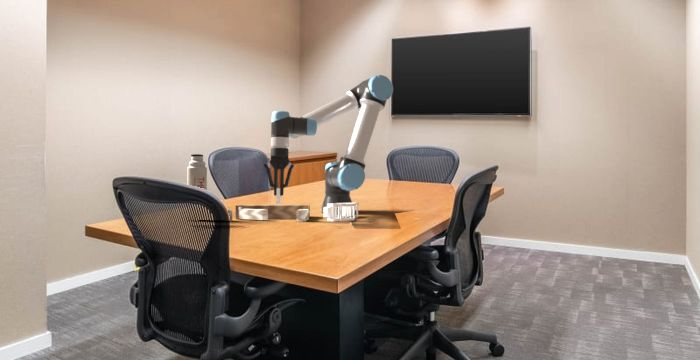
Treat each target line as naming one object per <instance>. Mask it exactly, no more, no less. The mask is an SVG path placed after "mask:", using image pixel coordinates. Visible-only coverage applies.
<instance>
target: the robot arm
mask: <svg viewBox="0 0 700 360" xmlns="http://www.w3.org/2000/svg"><path fill="white" fill-rule="evenodd" d="M393 93H394V86H393V83H392V81H391V80H390V79H389V78H388V76H385V75H383V74H377V75H373V76H371V77H370V78H368V79H365V80H362V81H361V82H360V83H359V84H358V85H356V86H354V87H353V88H351V89H350V90H347V91H346V93H345V94H344V95H343V96H339V97H338V98H336V99H334V100H332V101H330V102H328V103H326V104H324V105H322V106H320V107H318V108H316V109H314V110H311V111H310V112H308V113H306V114H304V115H302V116H300V117H297V116H295V117H293V116H290V112H289V111H288V110H287V111H286V110H285V111H284V110H274V111H273V112H272V113H271V120H270V125H271V130H270V131H271V132H270V136H271V137H270V147H271V148H270V158H269V161H268V162H266V163H264V164H263V167H264V168H265V170H266V174H267V178H268V183H269V187H272V188H273V195H274V196H275V197H276V200H275V201H276V204H275V205H282V196H284V189H285V188H286V187H287V188H288V186H289V184H290V180H291V175H292V172H293V170H294V168H295V165H294V164H293V163H291V162H290V159H289V147H290V145H289V144H290V140H289V138H291V139H296V138H297V139H298V138H299V137H303V136H308V137H310V136H315V135H316V134H317V131H318V127H322V125H324V124H326V123H329V122H330V121H332V120H334V119H336V118H338V117H340V116H342V115H344V114H346V113H348V112H350V111H352V110H359V112H358V115H357V118H356V120H355V121H356V122H355V124H354V127H353V130H352V133H351V137H350V140H349V143H348V145H347V147H346V148H347V150H346V152H345V154H344V155H342V156H340V159H339V161H334V162H332V161H331V162H328V163H326V164H325V169H324V179H325V180H324V197H323V201H322V205H321V213H324V207H327V206H328V204H330V203H350V202H353V201H352V198H351V191H355V190H358V189H359V188H361V187H362V186H363V184H364V182H365V180H366V172H365V168H366V163H365V157H366V155H367V152H368V151H367V150H368V148H369V145H370V143H371V140H372V136H373V133H374V129H375V126H376V124H377V121H378V117H379V114H380V112H381V111H383V110H385V106H386V104H387V100H389V99H390V98H391V97H392V95H393ZM271 167H272V168H273V170H274V172H273V173H274V174H273V176H272V172H271ZM286 168H288V170H287V173H286V174H287V175H286V178H285V169H286ZM279 171H280V172H279ZM279 173H280V174H279ZM279 175H280V176H279ZM279 177H280V178H279ZM279 179H280V180H279ZM278 184H279V185H278ZM337 214H338V207H337Z"/></svg>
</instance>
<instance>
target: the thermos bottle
mask: <svg viewBox="0 0 700 360" xmlns="http://www.w3.org/2000/svg"><path fill="white" fill-rule="evenodd" d="M190 156H191V158H190V159H191V160H190V161H189V162H188V166H187V168H186V169H187V171H186V174H187V177H186V178H187V179H186V180H187V181H186V182H187V183H186V185H192V186H197V187H200V188H204V189H206V190H207V191H208V179H207V178H208V168H207V167H206V162H205V161H204V154H201V153H198V154H197V153H196V154H195V153H194V154H193V153H192V154H190Z"/></svg>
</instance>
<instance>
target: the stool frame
mask: <svg viewBox="0 0 700 360" xmlns="http://www.w3.org/2000/svg"><path fill="white" fill-rule="evenodd" d="M239 207H244V209H264V210H268V220H296V223H297V222H298V223H300V222H301V223H302V222H303V223H305V222H307V221H308V220H309V219H310V217H311V216H310V215H311V213H310V212H311V205H310V204H236V205H235V220H240V219H239ZM227 210H228V213H229V216H230V222H232V221H233V209H227Z"/></svg>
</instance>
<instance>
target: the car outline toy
mask: <svg viewBox="0 0 700 360" xmlns="http://www.w3.org/2000/svg"><path fill="white" fill-rule="evenodd" d="M337 207H338V213H337ZM323 218H327V219H326V220H327V222H335V223H336V222H352V221H355V219H356V218H359V202H358V201H357V202H355V201H354V202H353V201H352V202H350V203H330V204H328V206H327V207H324V212H323Z"/></svg>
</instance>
